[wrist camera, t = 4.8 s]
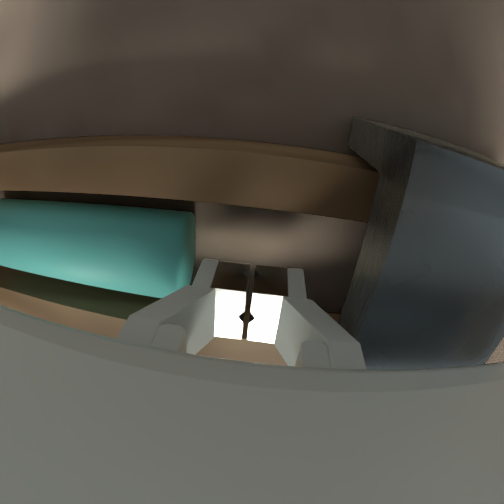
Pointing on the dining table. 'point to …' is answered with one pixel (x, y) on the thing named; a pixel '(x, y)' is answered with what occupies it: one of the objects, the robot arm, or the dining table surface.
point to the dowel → (100, 244)
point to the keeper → (427, 253)
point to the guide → (180, 188)
